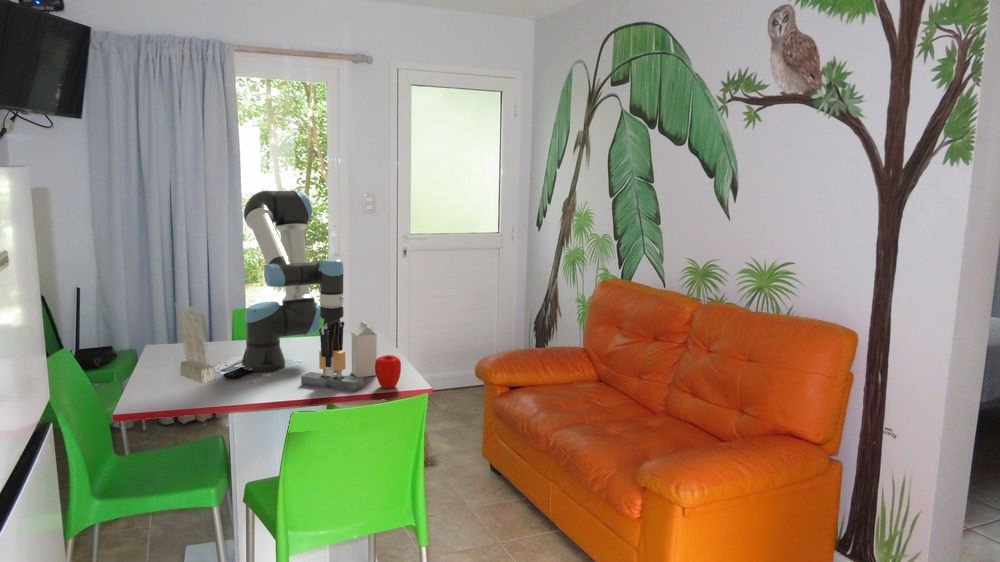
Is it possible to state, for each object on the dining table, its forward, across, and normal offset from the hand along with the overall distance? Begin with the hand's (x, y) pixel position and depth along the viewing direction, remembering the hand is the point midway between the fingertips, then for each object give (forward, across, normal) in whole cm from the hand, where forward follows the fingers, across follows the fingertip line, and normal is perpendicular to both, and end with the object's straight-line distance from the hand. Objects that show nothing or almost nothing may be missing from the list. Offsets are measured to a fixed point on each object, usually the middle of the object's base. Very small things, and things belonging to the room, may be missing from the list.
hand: (332, 374), depth 239 cm
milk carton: (+4, +16, -4) cm, 17 cm away
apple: (+4, +5, -18) cm, 19 cm away
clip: (+2, 0, 0) cm, 2 cm away
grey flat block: (+4, 0, 0) cm, 4 cm away
